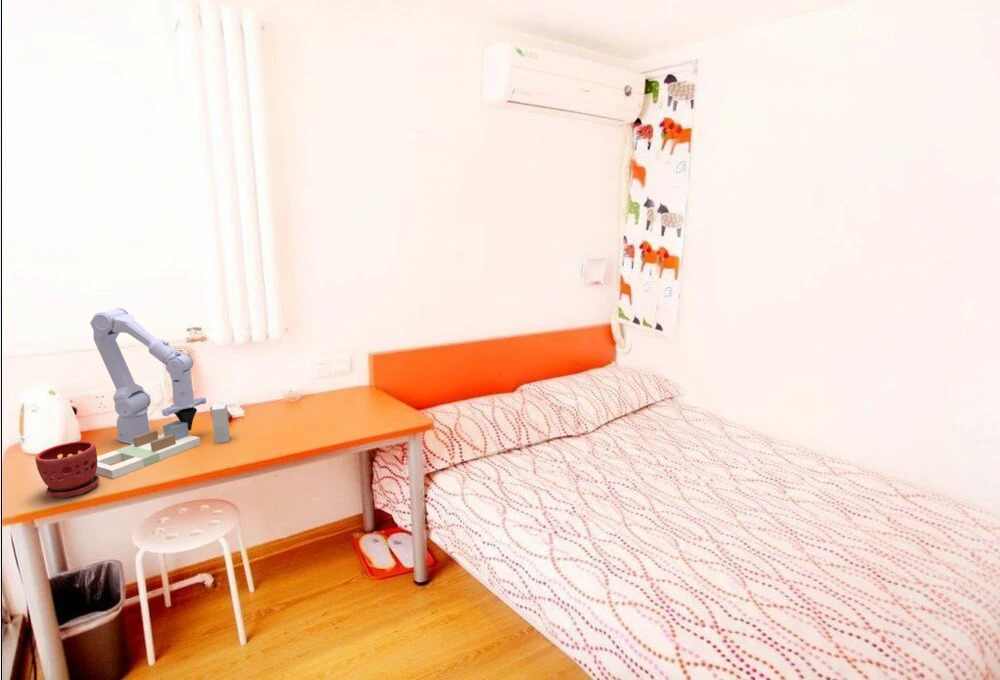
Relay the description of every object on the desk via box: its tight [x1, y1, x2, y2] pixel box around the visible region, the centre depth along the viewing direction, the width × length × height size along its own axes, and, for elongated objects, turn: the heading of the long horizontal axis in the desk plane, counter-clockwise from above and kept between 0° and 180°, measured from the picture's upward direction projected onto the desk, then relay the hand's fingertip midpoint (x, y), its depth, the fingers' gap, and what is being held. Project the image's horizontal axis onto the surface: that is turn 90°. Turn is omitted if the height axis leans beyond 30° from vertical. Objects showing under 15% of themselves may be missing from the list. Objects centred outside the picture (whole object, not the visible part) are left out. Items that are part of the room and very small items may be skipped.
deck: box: [95, 429, 202, 480], centre depth 177 cm, size 14×28×6 cm, turn 155°
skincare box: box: [211, 402, 231, 444], centre depth 190 cm, size 6×4×12 cm
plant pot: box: [34, 440, 100, 498], centre depth 155 cm, size 13×13×12 cm
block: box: [162, 420, 190, 441], centre depth 187 cm, size 5×5×4 cm
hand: (187, 429), depth 190 cm, fingers closed
